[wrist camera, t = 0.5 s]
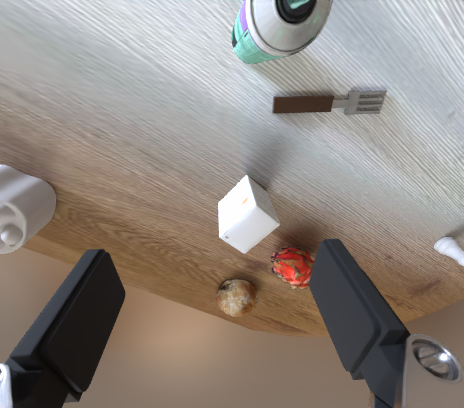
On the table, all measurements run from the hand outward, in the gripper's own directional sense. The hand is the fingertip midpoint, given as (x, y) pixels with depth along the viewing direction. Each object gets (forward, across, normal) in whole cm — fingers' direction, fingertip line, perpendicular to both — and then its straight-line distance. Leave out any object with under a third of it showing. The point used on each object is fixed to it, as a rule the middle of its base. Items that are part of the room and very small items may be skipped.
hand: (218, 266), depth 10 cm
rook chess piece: (+28, -52, +27) cm, 66 cm away
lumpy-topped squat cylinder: (+29, +36, +12) cm, 47 cm away
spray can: (+29, -5, -11) cm, 31 cm away
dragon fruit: (+28, -16, +29) cm, 43 cm away
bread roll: (+28, -4, +41) cm, 50 cm away
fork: (+28, -17, -3) cm, 33 cm away
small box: (+29, -4, +13) cm, 32 cm away
